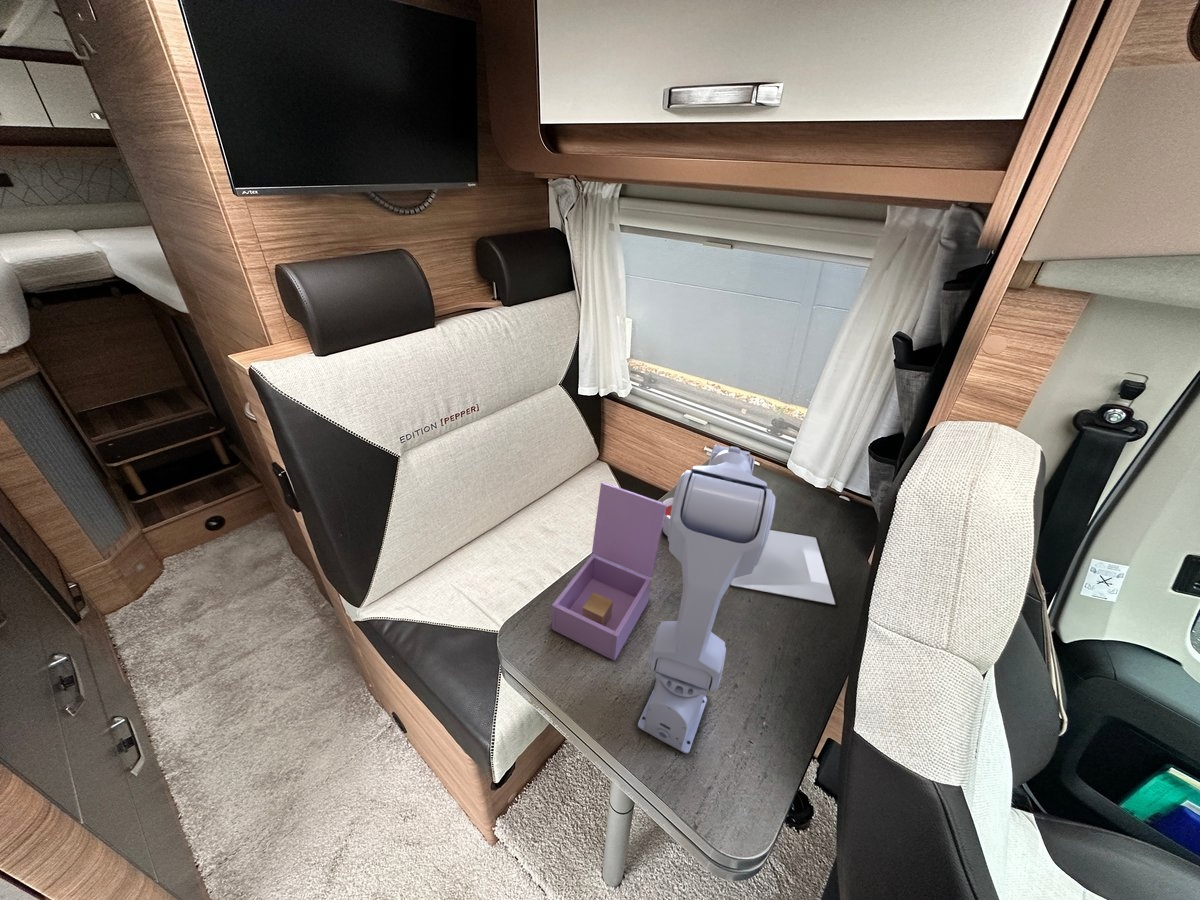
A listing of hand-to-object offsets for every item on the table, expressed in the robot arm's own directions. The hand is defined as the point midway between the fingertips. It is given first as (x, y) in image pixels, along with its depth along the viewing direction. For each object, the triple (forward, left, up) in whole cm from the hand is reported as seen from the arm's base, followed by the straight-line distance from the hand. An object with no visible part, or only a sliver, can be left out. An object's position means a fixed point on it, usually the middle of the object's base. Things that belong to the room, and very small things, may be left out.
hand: (706, 571), depth 84 cm
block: (-13, +15, -9) cm, 22 cm away
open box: (-11, +15, -10) cm, 21 cm away
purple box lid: (-3, +15, +5) cm, 16 cm away
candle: (+19, +11, -10) cm, 24 cm away
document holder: (+21, -11, -10) cm, 26 cm away
